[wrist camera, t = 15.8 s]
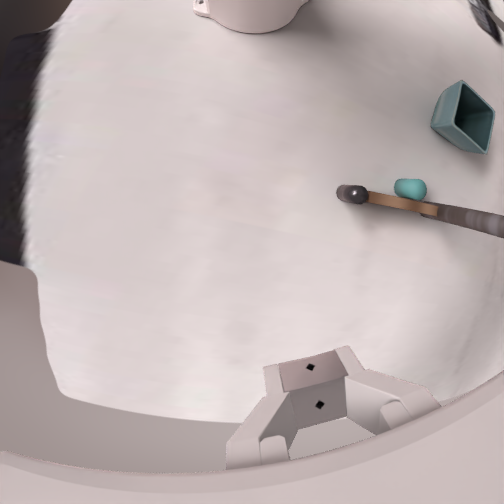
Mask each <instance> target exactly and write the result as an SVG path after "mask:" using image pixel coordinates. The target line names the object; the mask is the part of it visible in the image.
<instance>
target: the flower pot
mask: <svg viewBox="0 0 504 504" xmlns="http://www.w3.org/2000/svg"><path fill="white" fill-rule="evenodd" d="M494 119H495V111H494V110H493V108H492V107H491V106H490V105H489V104H488V103H487V102H486V101H485V100H484V99H482V98H481V97H480V96H479V95H478V94H477V93H476V92H475V91H474V90H473V89H472V88H471V87H470V86H469V85H468V84H467V83H465V82H464V81H463V80H461V81H459V82H457V83H456V84H454V85H452V86H450V87H449V88H447V89H446V90H445V91H444V92H443V93H442V94H441V96H440V97H439V99H438V102H437V104H436V107H435V111H434V115H433V118H432V122H431V127H432V128H433V129H434V130H435V131H437V132H438V133H439V134H441V135H442V136H443V137H444V138H446V139H447V140H448V141H449V142H451V143H452V144H454V145H455V146H456V147H458V148H460V149H462V150H465V151H468V152H474V153H480V154H487V153H488V149H489V144H490V139H491V134H492V129H493V124H494Z"/></svg>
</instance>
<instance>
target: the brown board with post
mask: <svg viewBox="0 0 504 504" xmlns="http://www.w3.org/2000/svg"><path fill="white" fill-rule="evenodd" d="M367 192H368V198H367V200H366V202H369V203H375V204H380V205H385V206H390V207H395V208H400V209H405V210H410V211H415V212H419V213H420V214H421V215H422V216H423V217H427V218H431V219H435V220H439V221H443V222H447V223H451V224H454V225H458V226H462V227H466V228H469V229H473V230H477V231H480V232H484V233H487V234H490V235H494V236H497V237H501V238H504V216H502V215H498V214H493V213H488V212H483V211H478V210H473V209H468V208H462V207H457V206H451V205H445V204H439V203H433V202H427V201H424V202H418V201H413V200H409V199H405V198H400V197H396V196H391V195H386V194H381V193H376V192H371V191H367Z"/></svg>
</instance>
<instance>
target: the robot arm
mask: <svg viewBox="0 0 504 504" xmlns="http://www.w3.org/2000/svg"><path fill="white" fill-rule="evenodd" d="M308 1H309V0H194V4H193V11H194V13H195V14H197V15H200V16H204V17H209V18H212V19H214V20H215V21H217V22H218V23H220V24H221V25H223V26H225V27H227V28H229V29H232V30H235V31H239V32H244V33H265V32H270V31H274V30H277V29H279V28H281V27H283V26H285V25H287V24H288V23H289V22H290V21H291V20H292V19H293V18H294V17H295V15H296V13H297V11H298V9H299V7H300V6H302V5H303V4H305V3H306V2H308ZM201 2H203V3H202V4H199V3H201ZM278 366H279V367H278ZM279 370H280V371H279ZM263 373H264V380H265V387H266V395H267V396H266V397H262V399H261V400H260V401H259V403H258V404H257V405H256V407H255V408H254V409H253V410H252V412H251V413H250V414H249V416H248V417H247V418H246V419H245V421H244V422H243V423H242V424H241V426H240V427H239V428H238V430H237V431H236V432H235V433H234V434H233V436H232V437H231V438H230V439H229V441H228V442H227V447H226V470H223V471H212V472H197V473H164V474H163V473H131V472H117V471H105V470H96V469H89V468H82V467H75V466H69V465H63V464H58V463H53V462H48V461H44V460H40V459H36V458H31V457H28V456H24V455H21V454H17V453H14V452H10V451H1V452H0V504H504V370H503V371H502V372H500V373H499V374H497V375H496V376H494V377H493V378H491V379H490V380H488V381H487V382H485V383H483V384H482V385H480V386H478V387H477V388H475V389H474V390H472V391H470V392H469V393H467V394H465V395H463V396H461V397H460V398H458V399H456V400H454V401H452V402H451V403H449V404H447V405H445V406H443V407H441V405H440V404H439V403H438V402H437V400H436V399H435V398H434V397H433V395H432V394H431V393H430V392H429V391H428V389H427V388H426V387H423V386H420V385H417V384H414V383H410V382H407V381H404V380H401V379H398V378H395V377H391V376H388V375H385V374H382V373H379V372H376V371H373V370H370V369H367V370H365V369H364V368H363V366H362V365H361V363H360V362H359V360H358V359H357V357H356V356H355V354H354V353H353V351H352V350H351V348H350V347H349V346H348V345H347V346H344V347H341V348H337V349H334V350H332V351H329V352H325V353H322V354H318V355H315V356H311V357H306V358H302V359H297V360H293V361H288V362H284V363H279V364H274V365H270V366H265V367H263ZM281 379H282V380H281ZM346 416H347V418H349V419H351V420H352V421H354V422H355V423H357V424H359V425H360V426H362V427H363V428H365V429H367V430H368V431H370V432H372V433H373V434H375V435H376V436H373V437H370V438H368V439H365V440H362V441H359V442H356V443H353V444H350V445H346V446H343V447H340V448H336V449H333V450H329V451H326V452H322V453H319V454H314V455H311V456H306V457H302V458H298V459H293V460H290V456H289V452H288V450H289V448H290V446H291V444H292V442H293V440H294V438H295V436H296V434H297V431H298V429H302V428H306V427H309V426H313V425H317V424H320V423H324V422H328V421H332V420H335V419H339V418H343V417H346Z"/></svg>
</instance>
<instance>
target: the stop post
mask: <svg viewBox="0 0 504 504" xmlns="http://www.w3.org/2000/svg"><path fill="white" fill-rule="evenodd" d="M394 190H395V193H396V194H397V196H399V197H402V198H409V199H416V200H421V199H423V198H424V197H425V195H426V192H427V188H426V185H425V183H424V182H423V181H422V180H420V179H399V180H397V181H396V183H395V185H394Z"/></svg>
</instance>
